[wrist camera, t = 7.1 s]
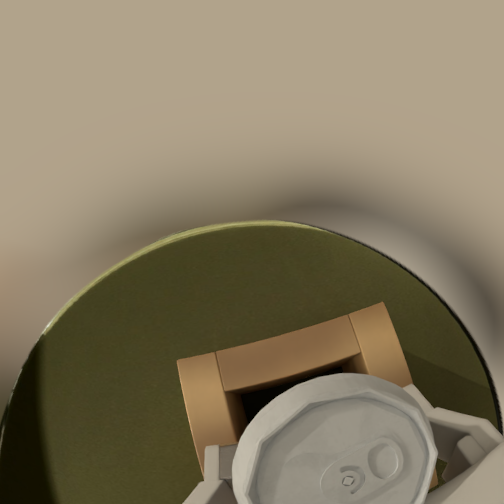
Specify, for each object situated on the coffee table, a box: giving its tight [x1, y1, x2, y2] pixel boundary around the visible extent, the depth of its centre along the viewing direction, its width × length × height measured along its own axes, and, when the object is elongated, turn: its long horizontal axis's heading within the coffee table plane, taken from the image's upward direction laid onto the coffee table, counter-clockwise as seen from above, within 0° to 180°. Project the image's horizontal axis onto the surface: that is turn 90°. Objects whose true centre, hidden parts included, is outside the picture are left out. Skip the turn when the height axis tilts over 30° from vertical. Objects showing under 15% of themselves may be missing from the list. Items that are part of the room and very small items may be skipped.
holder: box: [177, 302, 438, 490], centre depth 12 cm, size 10×10×5 cm
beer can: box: [232, 373, 438, 504], centre depth 9 cm, size 5×5×12 cm
